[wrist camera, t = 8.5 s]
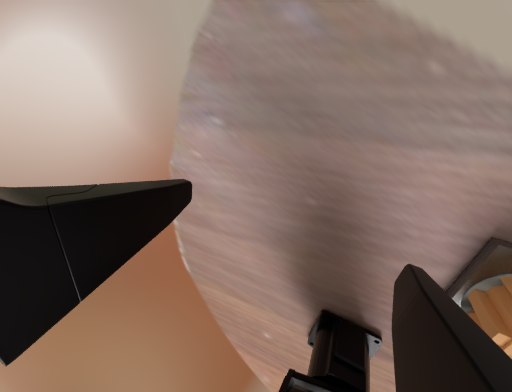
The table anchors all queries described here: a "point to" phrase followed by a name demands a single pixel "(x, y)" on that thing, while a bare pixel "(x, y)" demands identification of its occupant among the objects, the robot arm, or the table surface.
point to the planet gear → (495, 313)
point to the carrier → (483, 272)
